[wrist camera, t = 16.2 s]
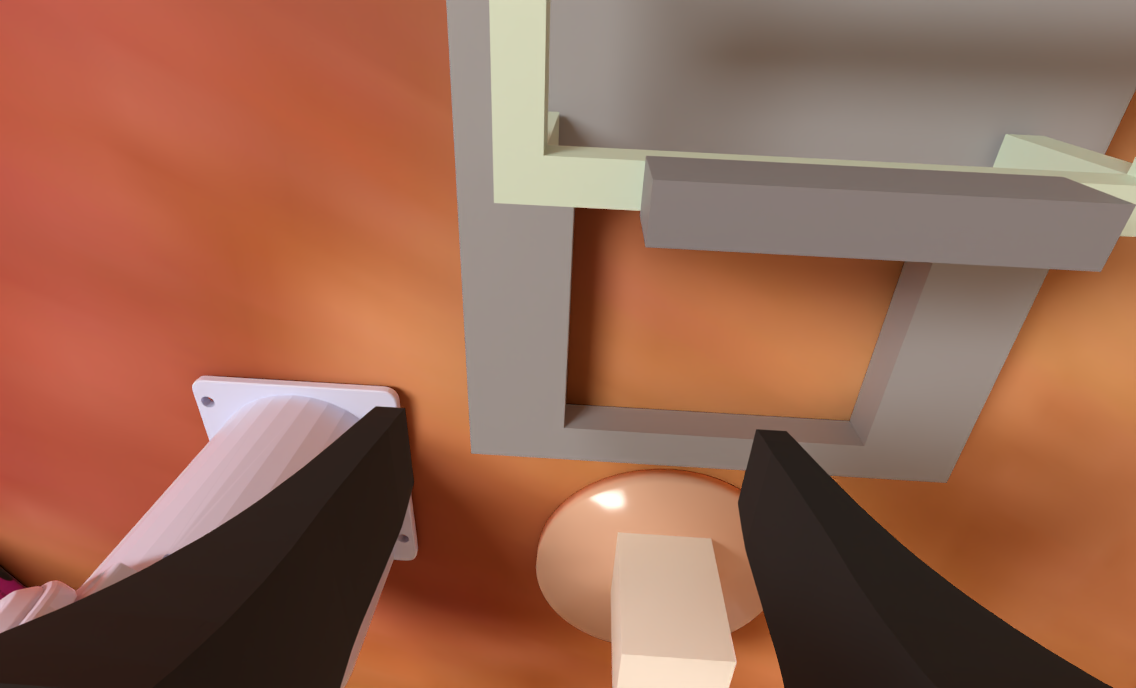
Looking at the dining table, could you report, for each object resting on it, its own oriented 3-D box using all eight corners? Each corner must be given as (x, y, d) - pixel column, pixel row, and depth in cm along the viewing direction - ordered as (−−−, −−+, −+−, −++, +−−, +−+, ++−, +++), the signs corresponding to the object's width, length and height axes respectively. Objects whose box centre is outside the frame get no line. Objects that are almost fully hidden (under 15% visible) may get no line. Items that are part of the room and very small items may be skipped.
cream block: (697, 598, 27) (717, 724, 23) (610, 593, 28) (612, 717, 23) (711, 538, 25) (736, 662, 21) (617, 532, 26) (621, 654, 21)
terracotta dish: (752, 640, 30) (756, 656, 29) (536, 626, 30) (534, 640, 30) (805, 477, 25) (811, 491, 24) (539, 461, 25) (537, 474, 24)
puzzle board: (927, 456, 24) (946, 482, 22) (478, 428, 24) (471, 453, 23) (1314, -410, 12) (1398, -459, 11) (438, -436, 13) (419, -486, 11)
